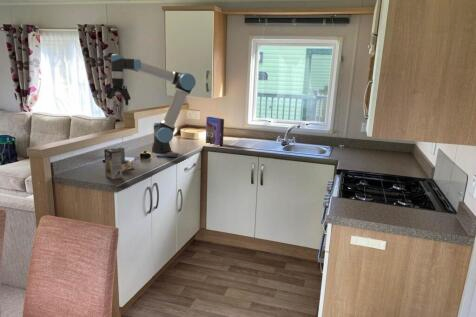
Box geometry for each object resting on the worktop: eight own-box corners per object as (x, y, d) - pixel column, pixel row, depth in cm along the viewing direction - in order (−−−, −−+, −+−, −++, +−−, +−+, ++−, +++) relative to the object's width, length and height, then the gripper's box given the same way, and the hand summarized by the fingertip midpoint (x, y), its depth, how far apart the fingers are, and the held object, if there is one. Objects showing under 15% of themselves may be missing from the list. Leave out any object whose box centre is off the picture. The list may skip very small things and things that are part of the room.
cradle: (120, 165, 228) (120, 159, 227) (132, 167, 224) (132, 161, 223) (107, 169, 218) (107, 163, 217) (120, 171, 214) (120, 165, 213)
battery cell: (120, 165, 225) (119, 145, 222) (127, 166, 223) (126, 146, 220) (114, 167, 220) (113, 147, 217) (121, 168, 218) (120, 148, 215)
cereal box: (205, 143, 314) (206, 116, 308) (209, 142, 317) (210, 116, 311) (219, 146, 302) (220, 119, 297) (223, 145, 306) (224, 118, 300)
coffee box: (105, 175, 205) (103, 149, 201) (115, 173, 210) (114, 147, 206) (111, 179, 199) (110, 152, 195) (122, 177, 204) (121, 150, 200)
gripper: (100, 77, 238) (101, 107, 243) (127, 78, 228) (128, 110, 233) (108, 77, 245) (109, 107, 250) (135, 79, 234) (136, 110, 240)
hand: (118, 109), depth 241 cm, fingers open, 13 cm apart
